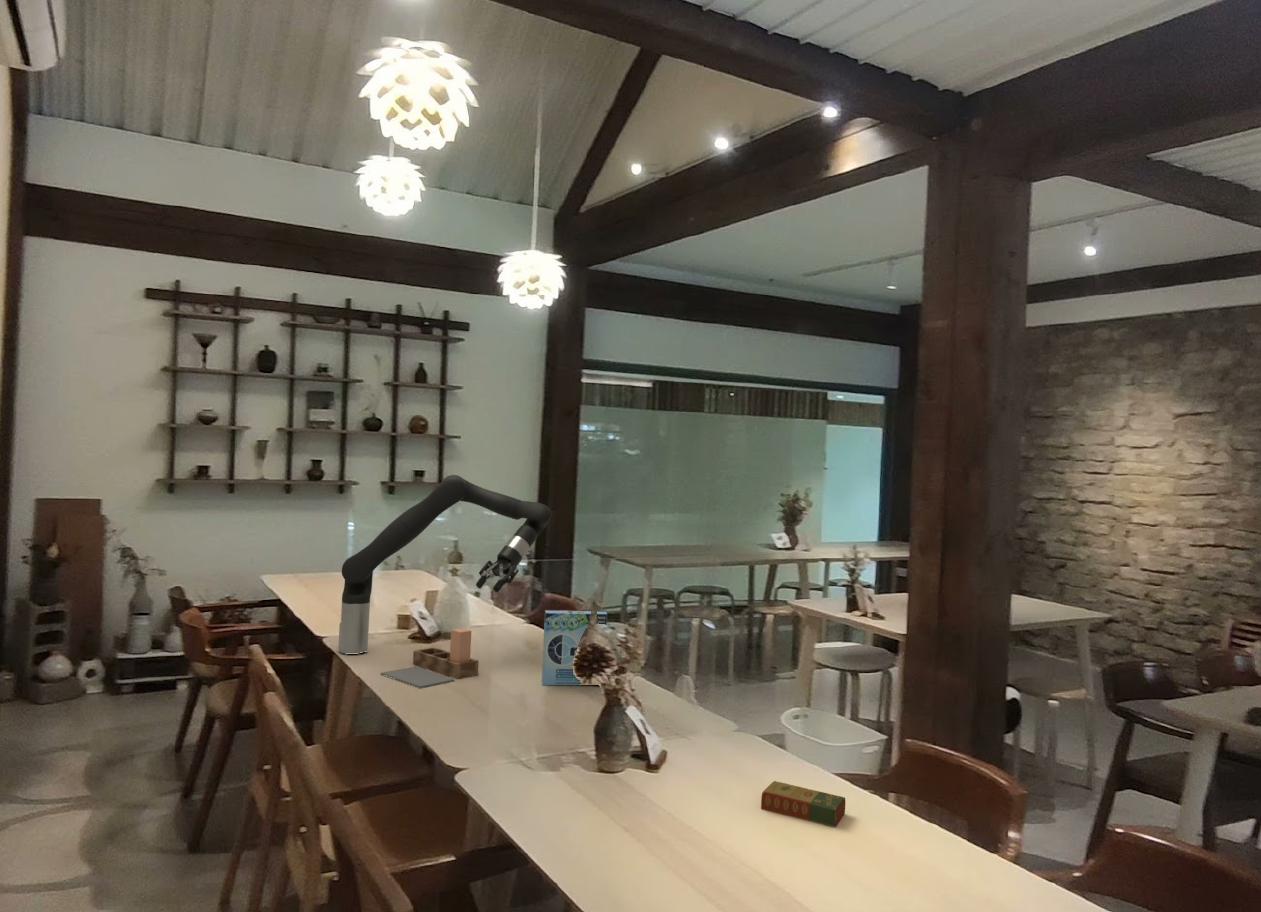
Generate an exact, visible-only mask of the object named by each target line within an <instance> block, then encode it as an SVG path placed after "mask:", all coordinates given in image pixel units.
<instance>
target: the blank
mask: <svg viewBox="0 0 1261 912" xmlns="http://www.w3.org/2000/svg"><path fill="white" fill-rule="evenodd" d="M471 647H472V630H470V629H467V628H463V627H462V628H456V629H451V631H450V647H449V652H450V661H453V662H456V663H462V662H468V661H470V658H471Z"/></svg>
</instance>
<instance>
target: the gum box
mask: <svg viewBox="0 0 1261 912" xmlns="http://www.w3.org/2000/svg"><path fill="white" fill-rule="evenodd" d="M591 611H592V610H569V609H568V610H565V609H560V610H557V609H545V610H544V623H543V642H542V643H543V649H542V667H541V668H542V670H541V685H542V686H543V685H579V686H578V687H580V684H581V682H580V680H578V679H577V678H576V677H575V675H574V674H573V667H572V665H573V659H574V657H575V655H576V652H577V649H578V644H579V642H580V639H581V637H582V635H583V633H584V631H585V629H586V628H587V625H588V622H589V616H590V614H591ZM596 611H597V619H598V623H599V624H605V625H607V623H608V613H607V611H606V610H596ZM607 626H608V625H607Z"/></svg>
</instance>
